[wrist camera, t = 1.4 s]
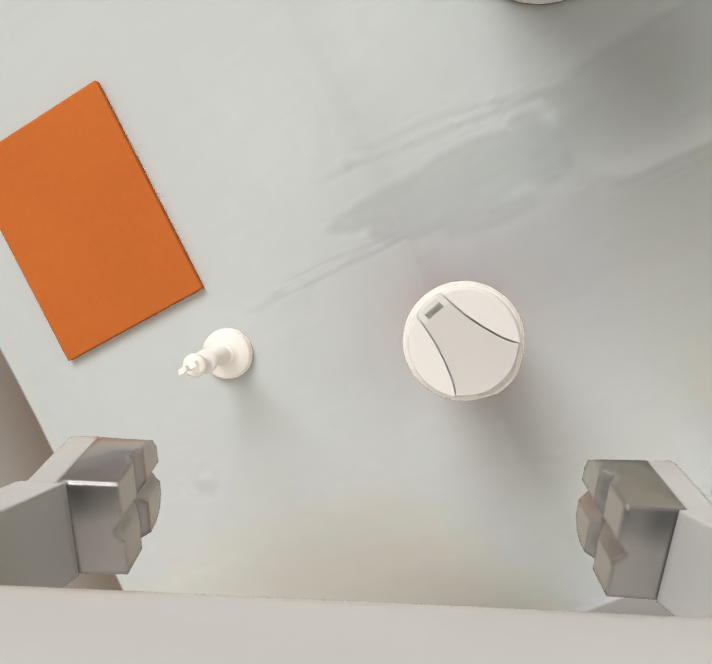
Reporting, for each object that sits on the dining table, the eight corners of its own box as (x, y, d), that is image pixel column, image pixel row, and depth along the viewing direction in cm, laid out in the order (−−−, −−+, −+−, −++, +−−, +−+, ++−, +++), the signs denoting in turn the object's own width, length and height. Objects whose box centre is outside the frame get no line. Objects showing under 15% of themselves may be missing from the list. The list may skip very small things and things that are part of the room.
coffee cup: (394, 321, 55) (375, 338, 40) (463, 260, 54) (469, 254, 39) (455, 389, 55) (459, 431, 40) (526, 330, 53) (556, 351, 39)
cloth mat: (-30, 164, 60) (-35, 163, 59) (98, 82, 57) (95, 80, 57) (71, 360, 60) (68, 361, 60) (204, 287, 58) (201, 287, 57)
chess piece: (261, 364, 57) (223, 382, 48) (219, 387, 58) (173, 410, 48) (237, 318, 57) (194, 327, 48) (195, 342, 58) (144, 356, 48)
